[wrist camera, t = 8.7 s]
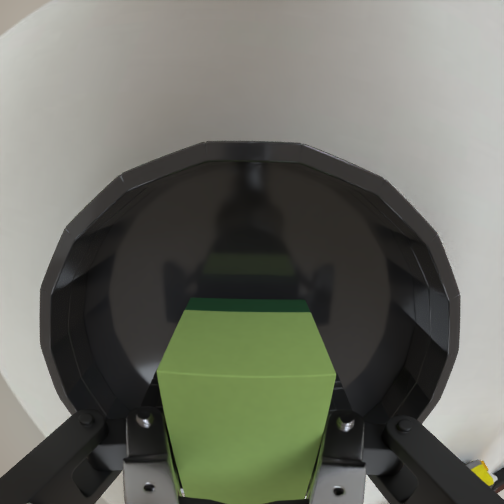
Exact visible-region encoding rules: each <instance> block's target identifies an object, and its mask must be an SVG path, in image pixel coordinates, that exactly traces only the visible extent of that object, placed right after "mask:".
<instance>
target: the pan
mask: <svg viewBox="0 0 504 504" xmlns="http://www.w3.org/2000/svg"><path fill="white" fill-rule="evenodd" d="M190 298H221V299H275V300H305V301H306V303H307V305H308V308H309V310H310V313H311V314H312V317H313V319H314V321H315V324H316V326H317V329H318V331H319V333H320V336H321V338H322V341H323V343H324V345H325V348H326V350H327V353H328V355H329V358H330V360H331V363H332V365H333V367H334V370H335V372H336V373H338V376H339V378H340V381H341V383H342V386H343V389H344V391H345V393H346V396H347V398H348V401H349V403H350V406H351V408H352V411H354V412H356V413H358V414H360V415H361V416H362V418H363V419H364V421H365V422H368V423H373V424H385V425H386V424H387V422H388V420H389V419H390V418H392V417H394V416H397V415H407V416H411V417H413V418H415V419H416V420H418V421H419V422H420V423H421V424H422V423H423V422H424V420H425V419H426V418H427V417H428V415H429V414H430V413H431V411H432V410H433V409H434V407H435V406H436V404H437V403H438V401H439V400H440V398H441V396H442V393H443V391H444V389H445V386H446V384H447V381H448V379H449V376H450V373H451V371H452V368H453V365H454V363H455V360H456V357H457V354H458V350H459V336H460V292H459V289H458V286H457V283H456V280H455V278H454V275H453V272H452V269H451V266H450V264H449V261H448V258H447V256H446V253H445V251H444V248H443V246H442V243H441V241H440V238H439V236H438V235H437V232H436V231H435V230H434V229H433V228H432V227H431V225H430V224H429V223H428V222H427V221H426V220H425V219H424V218H423V217H422V216H421V215H420V213H419V212H418V211H417V210H416V209H415V208H414V207H413V206H412V205H411V204H410V203H409V202H408V201H407V200H406V199H405V198H404V197H403V196H402V195H401V194H400V193H399V192H398V191H397V190H396V189H395V188H394V187H393V186H392V185H391V184H390V183H389V182H388V181H387V180H385V179H384V178H383V177H381V176H379V175H376V174H374V173H372V172H370V171H368V170H366V169H363V168H361V167H359V166H357V165H354V164H352V163H350V162H348V161H345V160H343V159H341V158H338V157H336V156H333V155H331V154H329V153H326V152H324V151H321V150H319V149H316V148H314V147H311V146H309V145H306V144H301V143H292V142H268V141H207V142H206V143H205V142H201V143H199V144H196V145H193V146H190V147H187V148H184V149H182V150H179V151H176V152H173V153H171V154H168V155H165V156H163V157H160V158H158V159H155V160H153V161H150V162H148V163H145V164H143V165H140V166H138V167H135V168H133V169H131V170H128V171H126V172H124V173H122V174H121V175H119V176H118V177H116V178H115V179H114V180H113V181H112V182H111V183H110V184H109V185H108V186H107V187H106V188H104V189H103V190H102V191H101V192H100V193H99V194H98V195H97V196H96V197H95V198H94V199H93V200H92V201H91V202H90V203H89V204H88V205H87V206H86V207H85V208H84V209H83V210H82V211H81V212H80V213H79V214H78V215H77V216H76V217H75V218H74V219H73V220H72V221H71V222H70V223H69V224H68V225H67V226H66V228H65V229H64V231H63V234H62V236H61V238H60V240H59V243H58V245H57V247H56V250H55V252H54V254H53V257H52V259H51V262H50V264H49V267H48V269H47V272H46V274H45V277H44V280H43V282H42V285H41V289H40V345H41V349H42V352H43V355H44V358H45V361H46V364H47V367H48V370H49V373H50V376H51V378H52V381H53V384H54V386H55V389H56V392H57V394H58V395H59V398H60V399H61V401H62V402H63V403H64V405H65V406H66V408H67V409H68V411H69V412H70V413H71V415H73V414H74V413H76V412H77V411H80V410H83V409H95V410H98V411H99V412H101V413H102V414H103V415H104V418H105V420H106V419H122V418H126V416H127V414H128V413H129V412H130V411H131V410H132V409H134V408H137V407H140V406H141V404H142V401H143V399H144V397H145V394H146V392H147V390H148V388H149V385H150V383H151V381H152V379H153V376H154V374H155V372H156V370H157V369H158V366H159V364H160V362H161V360H162V358H163V355H164V353H165V351H166V349H167V346H168V344H169V342H170V340H171V338H172V336H173V333H174V331H175V329H176V327H177V325H178V323H179V320H180V318H181V316H182V314H183V312H184V310H185V308H186V306H187V304H188V302H189V300H190ZM174 461H175V458H174ZM175 466H176V462H175ZM314 466H315V465H314ZM313 470H314V469H313ZM176 471H177V476H178V480H179V485H180V489H181V493H184V491H183V487H182V484H181V480H180V477H179V473H178V469H177V466H176ZM312 474H313V472H312ZM311 478H312V476H311ZM310 482H311V479H310ZM310 482H309V485H308V489H307V492H306V495H305V496H307V494H308V490H309V486H310Z"/></svg>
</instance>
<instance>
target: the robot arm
mask: <svg viewBox="0 0 504 504" xmlns="http://www.w3.org/2000/svg"><path fill="white" fill-rule="evenodd" d="M156 371H157V370H156ZM122 470H123V484H124V499H125V504H226V503H222V502H218V501H214V500H211V499H199V498H190V497H182V494H181V489H180V485H179V480H178V476H177V471H176V466H175V461H174V454H173V450H172V446H171V442H170V437H169V433H168V429H167V424H166V419H165V415H164V410H163V405H162V400H161V395H160V389H159V384H158V378H157V372H155V374H154V376H153V379H152V381H151V383H150V385H149V388H148V390H147V392H146V394H145V397H144V399H143V401H142V404H141V406H140V407H137V408H134V409H132V410H131V411H130V412H129V413H128V414H127V416H126V418H122V419H106V420H105V418H104V415H103V414H102V413H101V412H99V411H98V410H95V409H83V410H80V411H77V412H76V413H74V414H73V415H72V416H71V417H70V418H69V419H67V420H66V421H65V422H64V423H63V424H62V425H61V426H59V427H58V428H57V429H56V430H55V431H54V432H53V433H51V434H50V435H49V436H48V437H47V438H46V439H45V440H44V441H43V442H41V443H40V444H39V445H38V446H37V447H36V448H34V449H33V450H32V451H31V452H30V453H29V454H27V455H26V456H25V457H24V458H23V459H22V460H21V461H19V462H18V463H17V464H16V465H15V466H14V467H13V468H11V469H10V470H9V471H8V472H7V473H6V474H5V475H3V476H2V477H1V478H0V504H95V503H96V501H97V500H98V499H99V498H100V497H101V495H102V494H103V493H104V492H105V491H106V489H107V488H108V487H109V486H110V485H111V483H112V482H113V481H114V480H115V479H116V477H117V476H118V475H119V474H120V473H121V471H122ZM366 475H368V476H369V478H370V479H371V480H372V482H373V483H374V484H375V486H376V487H377V488H378V489H379V491H380V492H381V493H382V494H383V496H384V497H385V498H386V500H387V501H388V502H389V503H390V504H504V500H503V499H502V498H501V497H500V496H499V495H498V494H497V493H496V492H495V491H494V490H492V489H491V488H490V487H489V486H488V485H487V484H486V483H485V482H484V481H483V480H481V479H480V478H479V477H478V476H477V475H476V474H475V473H474V472H473V471H472V470H471V469H469V468H468V467H467V466H466V465H465V464H464V463H463V462H462V461H461V460H460V459H459V458H457V457H456V456H455V455H454V454H453V453H452V452H451V451H450V450H449V449H448V448H447V447H446V446H444V445H443V444H442V443H441V442H440V441H439V440H438V439H437V438H436V437H435V436H434V435H433V434H432V433H430V432H429V431H428V430H427V429H426V428H425V427H424V426H423V425H422V424H421V423H420V422H419V421H418V420H416V419H415V418H413V417H411V416H407V415H397V416H394V417H392V418H390V419H389V420H388V422H387V424H386V425H385V424H373V423H368V422H365V421H364V419H363V418H362V416H361V415H360V414H358V413H356V412H354V411H352V408H351V406H350V403H349V401H348V398H347V396H346V393H345V391H344V389H343V386H342V383H341V381H340V378H339V376H338V373H336V379H335V384H334V389H333V393H332V398H331V402H330V407H329V411H328V415H327V420H326V424H325V428H324V432H323V436H322V440H321V444H320V447H319V451H318V455H317V458H316V462H315V466H314V470H313V474H312V478H311V482H310V486H309V490H308V494H307V498H306V499H298V500H281V501H274V502H269V503H265V504H363V501H364V491H365V479H366Z"/></svg>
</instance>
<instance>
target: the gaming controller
mask: <svg viewBox="0 0 504 504" xmlns="http://www.w3.org/2000/svg"><path fill="white" fill-rule="evenodd" d="M465 465H466V466H467V467H468V468H469V469H471V470H472V471H473V472H474V473H475V474H476V475H477V476H478V477H479V478H480V479H481V480H483V481H484V482H485V483H486V484H487V485H488V486H490V485H492V484H494V482H495V481H496V480H498V479H497V476H495V475H493V474H491V473H489V472H488V468H487V466H486V465H485V463H484V461H480V460H476V461H473V462H470V463H468V464H465Z"/></svg>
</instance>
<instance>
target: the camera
mask: <svg viewBox="0 0 504 504" xmlns="http://www.w3.org/2000/svg"><path fill="white" fill-rule="evenodd" d="M494 475H495V476H497V479H498V480H496V481H495V482H494V484H492V485H490V486H489V487H490V488H491V489H492V490H494V491H495V492H496V493H498V492H500V491H501V490H503V489H504V469H502V470H500V471H499V472H497V473H495V474H494Z"/></svg>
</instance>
